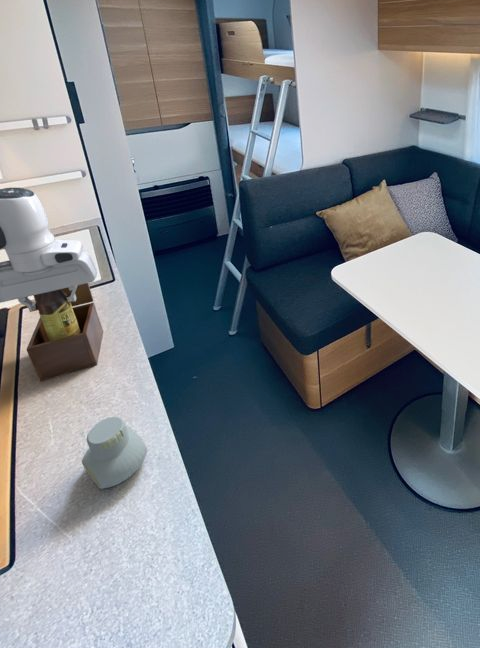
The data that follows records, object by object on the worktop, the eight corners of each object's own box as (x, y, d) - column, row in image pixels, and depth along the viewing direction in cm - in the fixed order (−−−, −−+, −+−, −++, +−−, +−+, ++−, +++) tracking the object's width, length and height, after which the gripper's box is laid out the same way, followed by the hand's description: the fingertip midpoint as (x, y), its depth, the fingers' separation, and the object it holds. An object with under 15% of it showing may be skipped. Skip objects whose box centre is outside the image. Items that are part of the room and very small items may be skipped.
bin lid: (78, 252, 105) (82, 245, 109) (22, 263, 100) (28, 255, 105) (93, 301, 109) (96, 293, 113) (39, 314, 104) (45, 305, 109)
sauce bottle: (77, 347, 101) (51, 279, 93) (47, 353, 99) (19, 284, 92) (86, 330, 107) (63, 265, 99) (58, 335, 105) (32, 269, 97)
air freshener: (82, 468, 78) (66, 431, 74) (126, 435, 84) (114, 399, 80) (110, 503, 72) (94, 465, 68) (155, 464, 78) (143, 427, 74)
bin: (97, 364, 102) (85, 333, 98) (40, 381, 97) (26, 349, 94) (103, 331, 113) (93, 302, 109) (52, 345, 109) (40, 315, 105)
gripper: (-29, 274, 87) (-5, 326, 92) (85, 251, 95) (101, 300, 100) (-18, 260, 92) (4, 310, 97) (89, 239, 100) (104, 287, 105)
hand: (54, 305), depth 99 cm, fingers closed on sauce bottle, 6 cm apart
